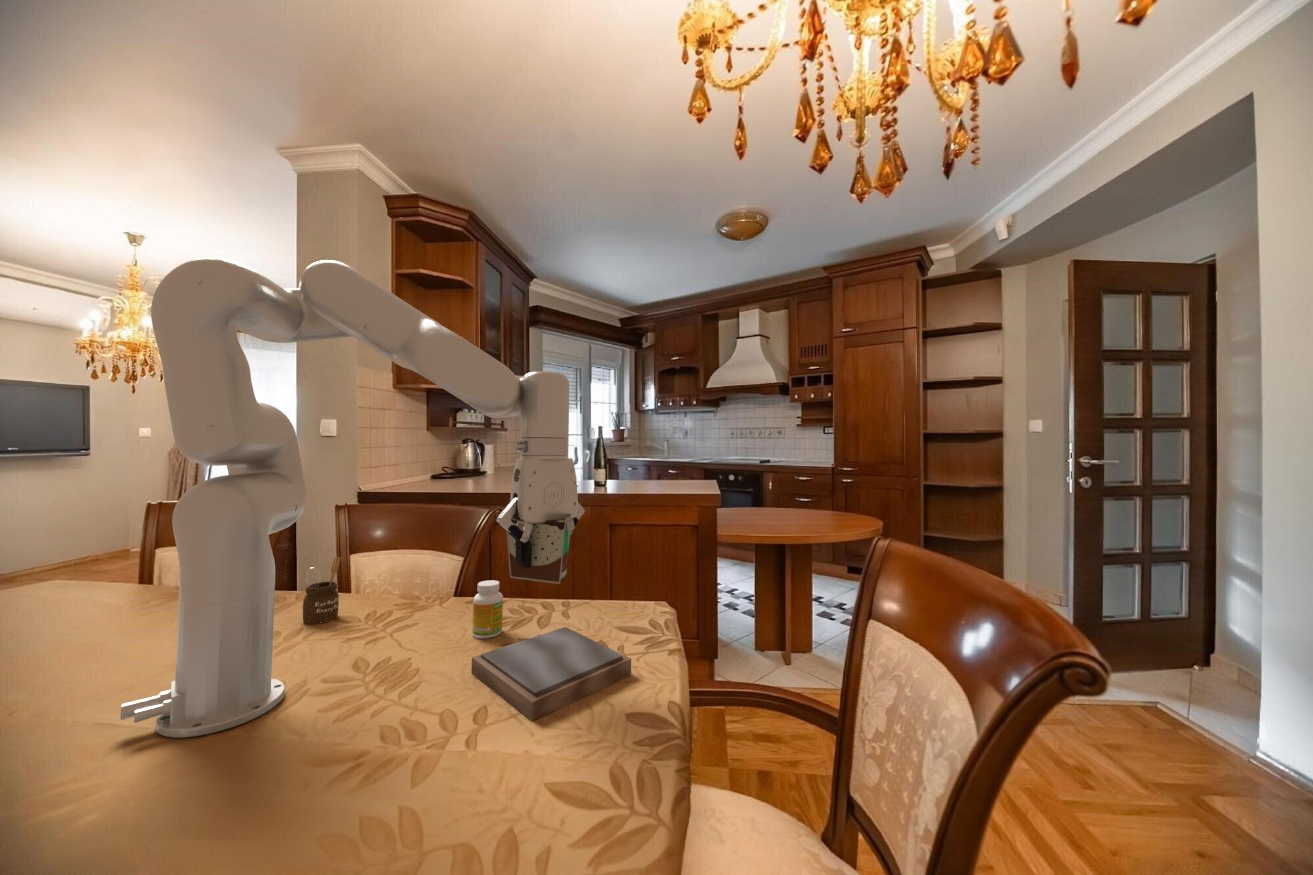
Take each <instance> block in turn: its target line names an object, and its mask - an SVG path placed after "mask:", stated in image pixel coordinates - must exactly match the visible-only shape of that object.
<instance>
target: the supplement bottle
mask: <svg viewBox="0 0 1313 875" xmlns="http://www.w3.org/2000/svg"><path fill="white" fill-rule="evenodd" d="M499 590H500V581H499V580H493V579H492V580H491V579H490V580H483V581H479V582H478V583H477V590H476V591H477V592H478V593H477V594H475V596H474V597H473V602H472V604H473V605H472V607H473V608H472V630H471V631H472V636H473V637H475V638H476V639H482V640H483V639H491V637H492V638H495V637H498V636H499V635H500V634H502V632H503V614H504V613H503V609H504V608H503V607H504V605H503V604H504V602H503V601H504V595H503V593H501V592H500V591H499Z"/></svg>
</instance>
